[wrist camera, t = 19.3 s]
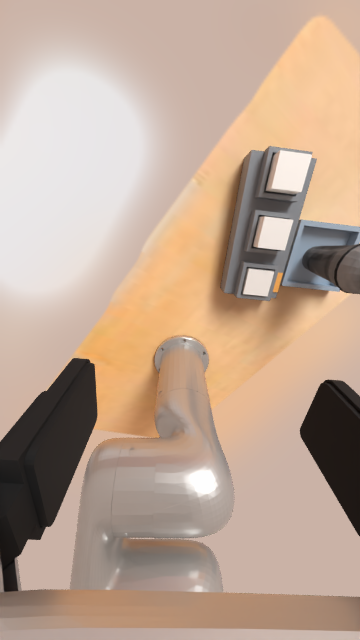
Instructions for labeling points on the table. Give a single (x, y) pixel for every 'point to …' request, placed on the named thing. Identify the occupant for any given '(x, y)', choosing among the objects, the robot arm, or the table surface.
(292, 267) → the tray
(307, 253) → the beverage cup
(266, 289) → the block
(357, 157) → the table surface
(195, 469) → the robot arm
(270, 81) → the table surface
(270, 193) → the grey switch block
